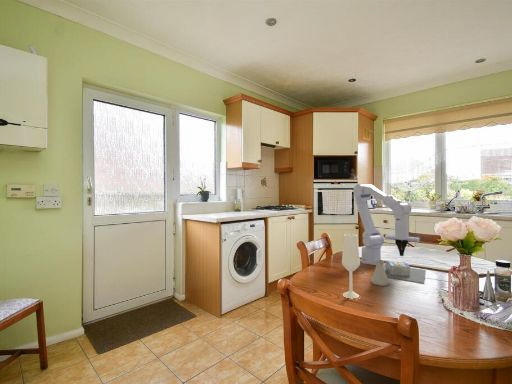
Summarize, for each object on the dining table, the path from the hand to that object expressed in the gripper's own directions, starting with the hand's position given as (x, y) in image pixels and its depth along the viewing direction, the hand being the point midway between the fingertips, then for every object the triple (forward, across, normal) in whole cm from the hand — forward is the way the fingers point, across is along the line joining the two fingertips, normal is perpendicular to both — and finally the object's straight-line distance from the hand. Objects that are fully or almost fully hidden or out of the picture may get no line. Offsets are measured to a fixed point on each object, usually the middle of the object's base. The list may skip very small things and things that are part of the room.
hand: (401, 255), depth 127 cm
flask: (+9, -6, -20) cm, 23 cm away
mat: (+8, 0, -1) cm, 8 cm away
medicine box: (+6, +3, -1) cm, 6 cm away
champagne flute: (+9, -14, -40) cm, 43 cm away
